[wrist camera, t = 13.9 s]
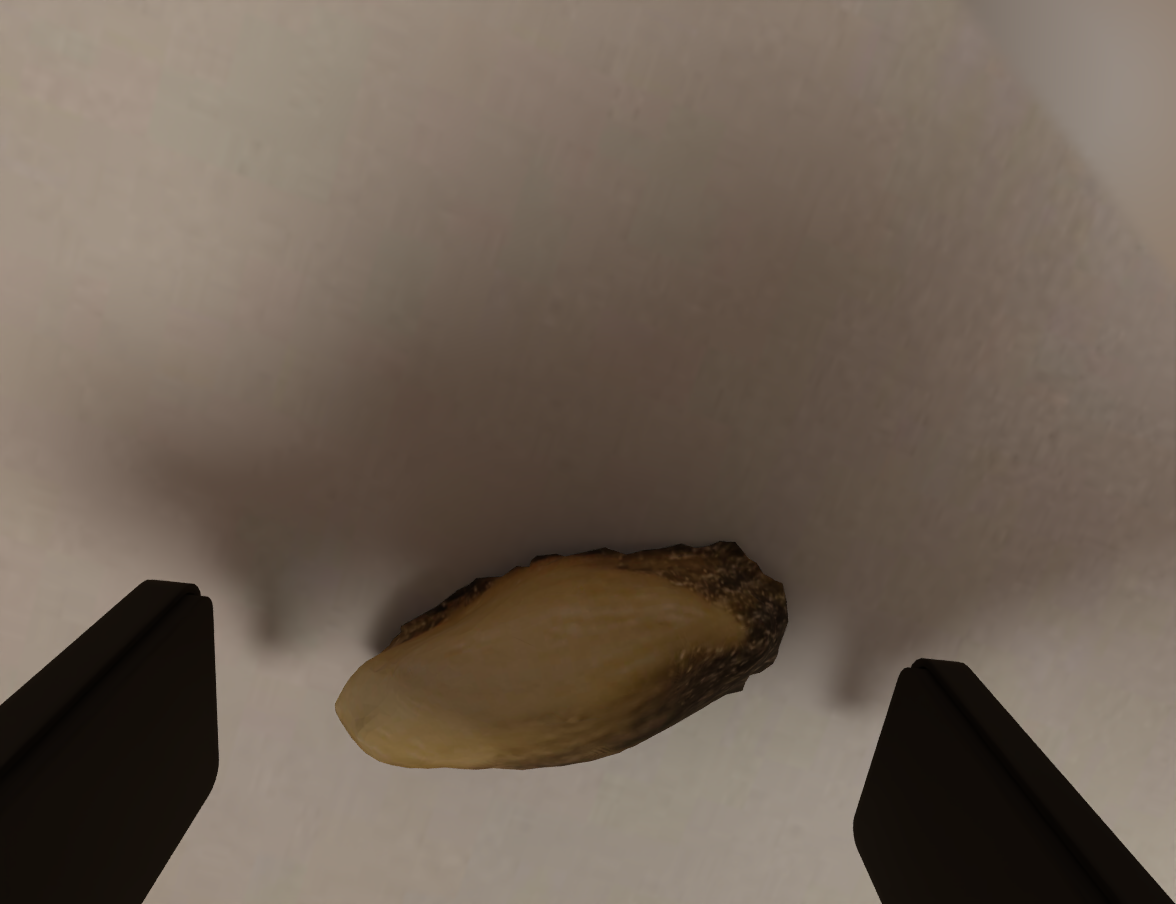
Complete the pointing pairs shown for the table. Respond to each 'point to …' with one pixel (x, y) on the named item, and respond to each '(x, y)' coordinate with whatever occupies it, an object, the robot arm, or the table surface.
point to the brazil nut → (566, 659)
